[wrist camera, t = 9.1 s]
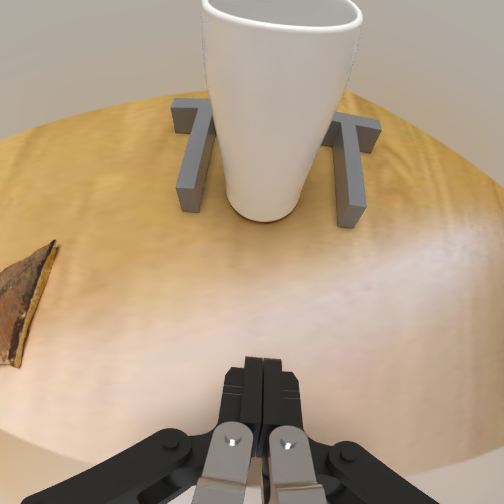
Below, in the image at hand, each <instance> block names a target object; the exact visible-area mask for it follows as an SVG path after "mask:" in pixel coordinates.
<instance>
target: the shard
mask: <svg viewBox="0 0 504 504" xmlns="http://www.w3.org/2000/svg"><path fill="white" fill-rule="evenodd" d="M55 245H56V240H53V241H52V242H50V243H49V244H48V245H46V246H44V247H42V248H40V249H38V250H37V251H35V252H34V253H33V254H31V255H30V256H28V257H26V258H24V259H23V260H21V261H19V262H17V263H15V264H12V265H11V266H9V267H7V268H6V269H4V270H3V271H2V272H0V364H2V363H3V364H9V365H11V366H12V367H16V368H18V367H20V364H21V357H22V350H23V342H24V339H25V337H26V333H27V329H28V326H29V324H30V321H31V318H32V316H33V314H34V312H35V310H36V307H37V304H38V302H39V299H40V296H41V294H42V292H43V290H44V286H45V284H46V282H47V280H48V278H49V274H50V271H51V269H52V264H53V261H54V259H55V255H56V249H57V248H55Z"/></svg>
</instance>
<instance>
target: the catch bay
mask: <svg viewBox="0 0 504 504" xmlns="http://www.w3.org/2000/svg"><path fill="white" fill-rule="evenodd" d="M171 112H172V117H173V122H174V127H175V132H176V133H191V134H190V137H189V141H188V144H187V148H186V151H185V155H184V158H183V162H182V166H181V169H180V173H179V177H178V180H177V184H176V190H177V194H178V197H179V201H180V204H181V208H182V211H187V212H199V209H200V204H201V199H202V194H203V189H204V184H205V179H206V175H207V170H208V165H209V161H210V156H211V152H212V147H213V143H214V138H215V134H216V129H215V125H214V120H213V115H212V110H211V105H210V100H209V99H188V98H174V100H173V103H172V105H171ZM381 131H382V130H381V125H380V121H379V120H375V119H370V118H365V117H360V116H355V115H350V114H344V113H339V112H336V113H335V115H334V117H333V119H332V122H331V124H330V126H329V128H328V131H327V133H326V135H325V137H324V140H323V142H322V144H321V145H324V146H331V147H333V158H334V171H335V186H336V204H337V226H338V227H347V228H353V227H354V226H355V224H356V223H357V221H358V220H359V218H360V217H361V215H362V214H363V212H364V211H365V209H366V207H367V206H366V196H365V187H364V179H363V171H362V164H361V157H360V151H361V152H367V153H371V151H372V149H373V147H374V145H375V143H376V141H377V139H378V137H379V135H380V133H381Z"/></svg>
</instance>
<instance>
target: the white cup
mask: <svg viewBox="0 0 504 504" xmlns="http://www.w3.org/2000/svg"><path fill="white" fill-rule="evenodd" d="M362 23H363V15H362V12H361V11H360V9H359V8H358V7H357V6H356V5H355V4H354V3H353V2H352V1H350V0H202V47H203V60H204V69H205V77H206V83H207V89H208V95H209V100H210V105H211V110H212V115H213V120H214V125H215V129H216V134H217V139H218V144H219V149H220V154H221V159H222V164H223V170H224V175H225V183H226V193H227V197H228V200H229V202H230V204H231V205H232V207H233V208H234V209H235V210H236V211H237V212H238V213H239V214H241V215H242V216H244V217H246V218H248V219H250V220H254V221H259V222H270V221H275V220H278V219H281V218H283V217H285V216H286V215H288V214H289V213H290V212H291V211H292V210H293V209H294V208H295V206H296V205H297V203H298V200H299V198H300V194H301V191H302V188H303V185H304V183H305V181H306V178H307V176H308V174H309V171H310V169H311V167H312V165H313V162H314V160H315V158H316V155H317V153H318V151H319V149H320V146H321V144H322V142H323V140H324V137H325V135H326V133H327V131H328V128H329V126H330V124H331V122H332V119H333V117H334V115H335V113H336V110H337V108H338V105H339V103H340V101H341V98H342V96H343V93H344V90H345V88H346V85H347V81H348V79H349V75H350V72H351V69H352V66H353V62H354V58H355V54H356V50H357V46H358V41H359V36H360V32H361V26H362Z"/></svg>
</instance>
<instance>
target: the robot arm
mask: <svg viewBox="0 0 504 504" xmlns="http://www.w3.org/2000/svg"><path fill="white" fill-rule="evenodd" d="M255 452H256V457H262V468H261V472H260V479H261V494H262V504H439V503H438V502H436V501H435V500H434V499H432V498H430V497H429V496H428V495H426V494H425V493H423V492H422V491H420V490H419V489H417V488H416V487H415V486H413V485H412V484H410V483H409V482H408V481H406V480H405V479H404V478H402V477H401V476H399V475H398V474H397V473H395V472H394V471H393V470H391V469H390V468H389V467H387V466H386V465H385V464H383V463H382V462H381V461H379V460H378V459H377V458H375V457H374V456H373V455H372V454H370V453H369V452H368V451H366V450H365V449H364V448H363V447H361V446H360V445H358V444H357V443H354V442H350V441H342V442H339V443H336V444H335V445H334V446H329V445H325V444H321V443H318V442H315V441H313V440H312V439H310V438H309V437H308V436H307V435H306V433H305V432H304V429H303V423H302V412H301V402H300V392H299V382H298V380H297V378H296V377H295V375H294V374H293V372H284V371H282V362H281V359H270V358H264V360H263V358H257V357H247V356H246V357H245V366H244V368H236V367H231V369H230V370H229V371H228V372H227V374H226V375H225V381H224V387H223V394H222V400H221V406H220V413H219V419H218V423H217V425H216V427H215V428H214V429H213V430H211V431H210V432H208V433H206V434H203V435H196V436H187V435H186V434H185V433H184V432H182V431H181V430H178V429H173V428H167V429H162V430H160V431H158V432H156V433H154V434H153V435H151V436H149V437H148V438H146V439H144V440H142V441H141V442H139V443H137V444H135V445H133V446H132V447H130V448H128V449H126V450H124V451H122V452H121V453H119V454H117V455H115V456H113V457H111V458H109V459H107V460H106V461H104V462H102V463H100V464H98V465H96V466H94V467H92V468H90V469H88V470H86V471H84V472H82V473H80V474H78V475H76V476H73V477H71V478H69V479H67V480H65V481H63V482H61V483H58V484H56V485H54V486H52V487H49V488H47V489H45V490H42V491H40V492H38V493H35V494H33V495H31V496H28V497H26V498H25V499H24V500H23V501H22V502H21V504H167V503H168V502H170V501H171V500H173V499H174V498H176V497H177V496H179V495H180V494H182V493H183V492H184V491H186V490H187V489H189V488H190V487H191V486H194V485H196V489H195V493H194V496H193V500H192V503H191V504H243V501H244V495H245V489H246V481H247V475H248V471H249V467H250V462H251V457H254V456H255Z"/></svg>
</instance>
